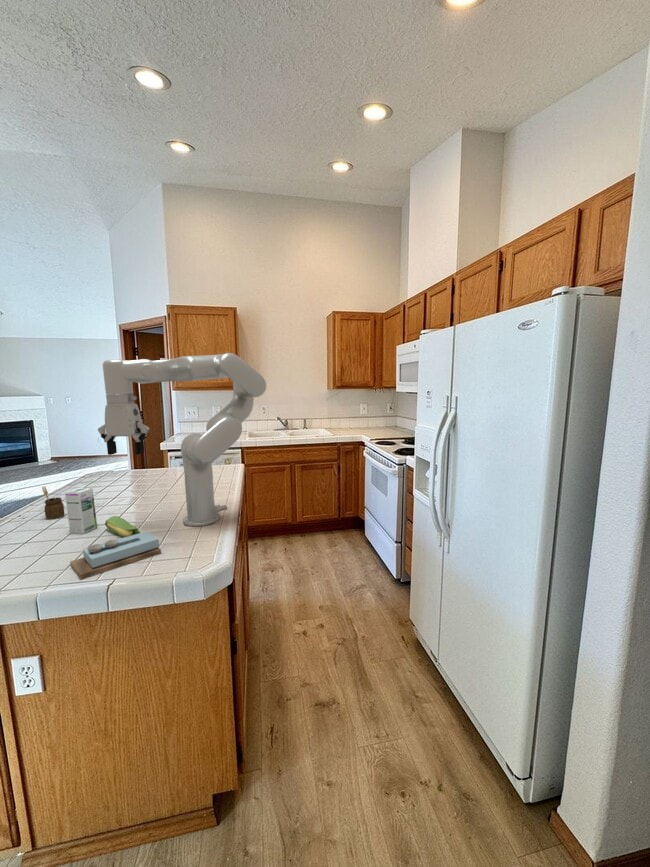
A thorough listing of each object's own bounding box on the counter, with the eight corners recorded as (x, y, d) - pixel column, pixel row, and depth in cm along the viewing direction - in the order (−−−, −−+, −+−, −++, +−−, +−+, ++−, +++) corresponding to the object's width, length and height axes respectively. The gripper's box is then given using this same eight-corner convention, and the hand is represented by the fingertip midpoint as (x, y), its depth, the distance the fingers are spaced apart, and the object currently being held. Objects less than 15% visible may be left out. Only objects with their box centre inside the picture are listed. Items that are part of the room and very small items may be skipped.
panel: (147, 538, 114) (147, 531, 113) (159, 546, 107) (158, 539, 107) (83, 557, 102) (82, 549, 101) (92, 568, 95) (91, 559, 95)
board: (147, 542, 114) (145, 526, 114) (161, 553, 107) (159, 535, 106) (70, 565, 100) (68, 546, 100) (80, 579, 93) (78, 559, 92)
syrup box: (83, 534, 123) (79, 492, 121) (69, 533, 124) (64, 491, 122) (97, 527, 128) (93, 487, 126) (83, 527, 129) (78, 486, 127)
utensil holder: (57, 519, 138) (53, 488, 136) (40, 519, 138) (37, 488, 136) (68, 514, 143) (65, 484, 142) (52, 514, 144) (49, 484, 142)
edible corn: (118, 513, 130) (105, 513, 126) (145, 528, 117) (130, 528, 114) (115, 528, 129) (101, 528, 126) (141, 544, 117) (127, 545, 113)
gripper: (153, 398, 117) (158, 451, 119) (104, 400, 120) (110, 452, 122) (137, 399, 109) (143, 456, 112) (86, 401, 112) (92, 456, 114)
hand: (126, 454), depth 117 cm, fingers open, 9 cm apart
